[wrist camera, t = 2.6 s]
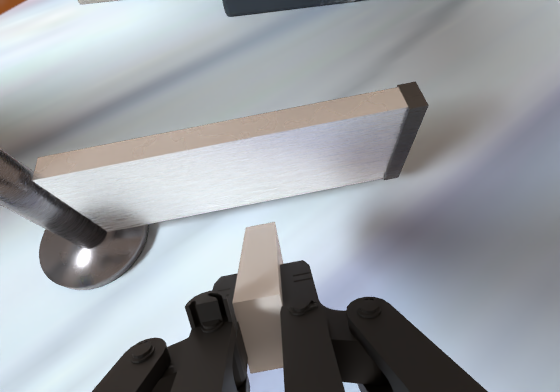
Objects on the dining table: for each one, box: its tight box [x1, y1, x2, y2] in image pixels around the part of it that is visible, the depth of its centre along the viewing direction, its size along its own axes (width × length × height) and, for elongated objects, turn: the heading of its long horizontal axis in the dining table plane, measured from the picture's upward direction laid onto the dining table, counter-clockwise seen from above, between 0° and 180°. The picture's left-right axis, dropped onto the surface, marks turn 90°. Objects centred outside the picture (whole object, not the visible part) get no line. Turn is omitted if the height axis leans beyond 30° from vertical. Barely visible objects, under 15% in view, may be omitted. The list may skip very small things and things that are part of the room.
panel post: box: [0, 148, 148, 290], centre depth 20 cm, size 8×8×12 cm
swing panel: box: [32, 82, 428, 232], centre depth 20 cm, size 21×2×7 cm, turn 100°
